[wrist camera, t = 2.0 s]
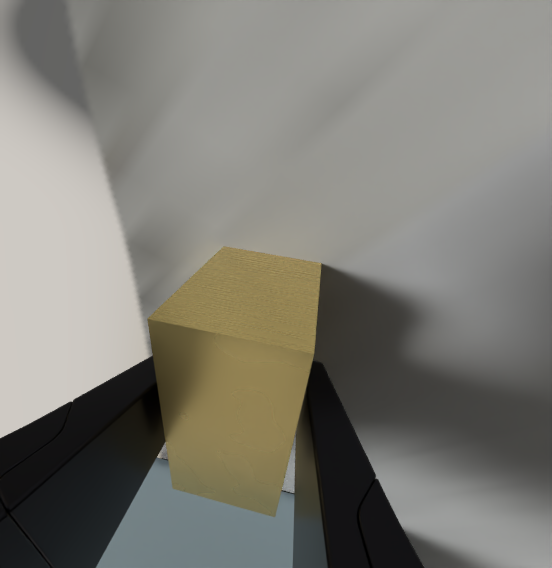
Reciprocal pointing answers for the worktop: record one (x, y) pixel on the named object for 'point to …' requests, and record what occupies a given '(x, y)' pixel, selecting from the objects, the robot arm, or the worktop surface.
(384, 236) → the worktop surface
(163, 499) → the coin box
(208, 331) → the tall tan wooden block
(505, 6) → the worktop surface
